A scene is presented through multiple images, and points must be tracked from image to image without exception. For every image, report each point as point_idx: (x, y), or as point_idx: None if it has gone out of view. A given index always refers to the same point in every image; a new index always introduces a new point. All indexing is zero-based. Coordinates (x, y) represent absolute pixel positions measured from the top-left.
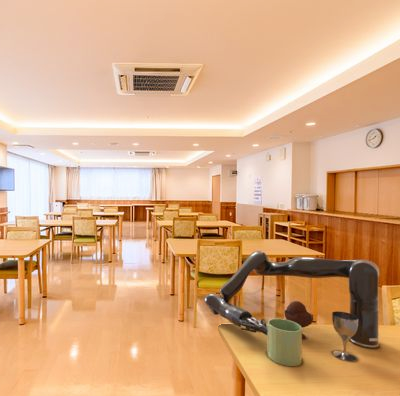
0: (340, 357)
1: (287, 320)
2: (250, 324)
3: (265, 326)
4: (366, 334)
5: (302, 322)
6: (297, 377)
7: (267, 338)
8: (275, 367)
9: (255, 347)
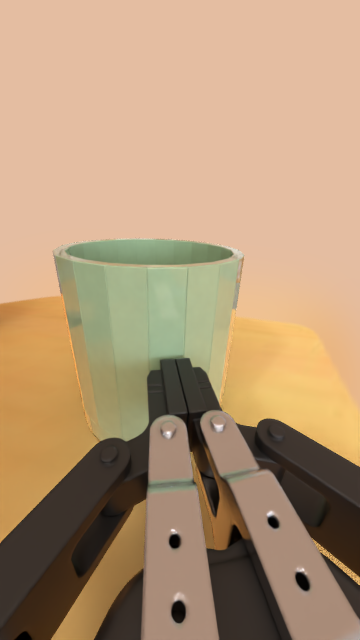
0: None
1: (67, 255)
2: (333, 487)
3: (131, 441)
4: None
5: None
6: None
7: (226, 353)
8: (231, 364)
9: None
